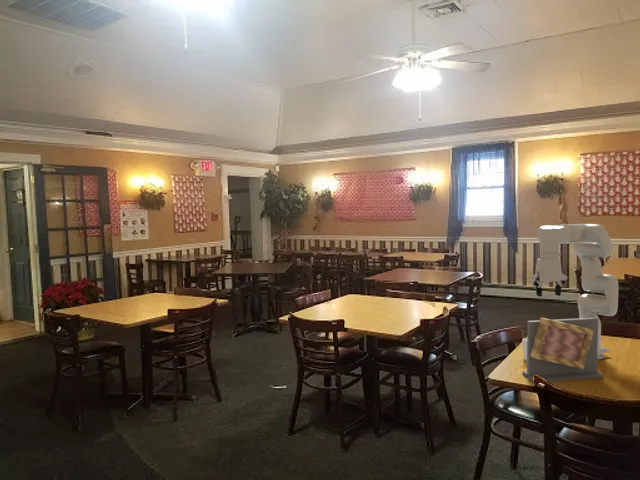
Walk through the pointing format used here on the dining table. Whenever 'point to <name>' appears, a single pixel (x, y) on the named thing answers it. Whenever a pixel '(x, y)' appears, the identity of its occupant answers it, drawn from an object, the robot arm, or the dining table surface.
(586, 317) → the robot arm
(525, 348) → the white cup
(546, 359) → the picture frame
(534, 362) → the board
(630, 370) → the dining table surface
